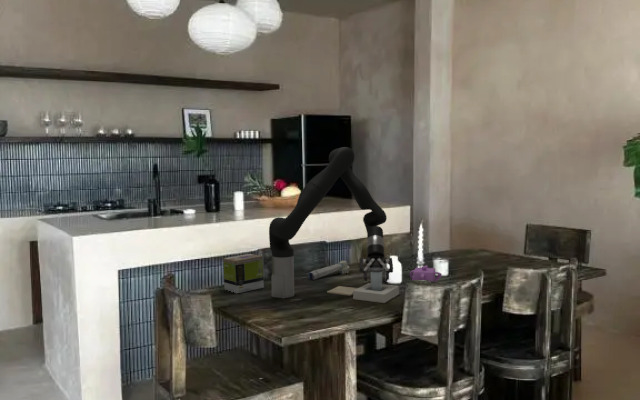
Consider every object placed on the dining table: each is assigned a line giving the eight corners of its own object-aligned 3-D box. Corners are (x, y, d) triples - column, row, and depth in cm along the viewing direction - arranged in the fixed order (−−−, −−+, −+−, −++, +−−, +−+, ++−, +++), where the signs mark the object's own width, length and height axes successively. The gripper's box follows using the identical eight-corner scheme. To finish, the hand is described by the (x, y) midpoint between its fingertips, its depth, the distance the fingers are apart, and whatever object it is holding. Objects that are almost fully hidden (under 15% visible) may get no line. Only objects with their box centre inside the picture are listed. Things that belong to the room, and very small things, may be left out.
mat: (350, 295, 256) (350, 294, 256) (327, 292, 261) (327, 291, 261) (361, 290, 266) (361, 288, 266) (338, 287, 271) (338, 286, 271)
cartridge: (380, 299, 250) (380, 270, 249) (366, 297, 253) (366, 269, 252) (385, 295, 255) (385, 267, 254) (372, 294, 258) (372, 266, 257)
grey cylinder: (306, 271, 288) (343, 257, 304) (307, 284, 289) (344, 270, 305) (313, 273, 284) (350, 258, 300) (315, 286, 285) (352, 271, 302)
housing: (384, 303, 244) (384, 294, 243) (353, 299, 251) (353, 290, 250) (399, 294, 258) (399, 286, 257) (369, 290, 264) (368, 282, 264)
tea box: (251, 284, 278) (250, 252, 277) (264, 288, 271) (263, 255, 270) (223, 290, 269) (222, 257, 267) (236, 294, 261) (235, 260, 260)
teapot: (412, 283, 277) (412, 261, 276) (443, 285, 273) (443, 263, 272) (407, 293, 260) (407, 269, 259) (440, 294, 256) (440, 271, 255)
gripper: (359, 243, 261) (359, 275, 251) (392, 243, 260) (393, 275, 250) (359, 253, 267) (359, 284, 257) (391, 253, 266) (393, 284, 256)
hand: (376, 280), depth 253 cm, fingers open, 8 cm apart
